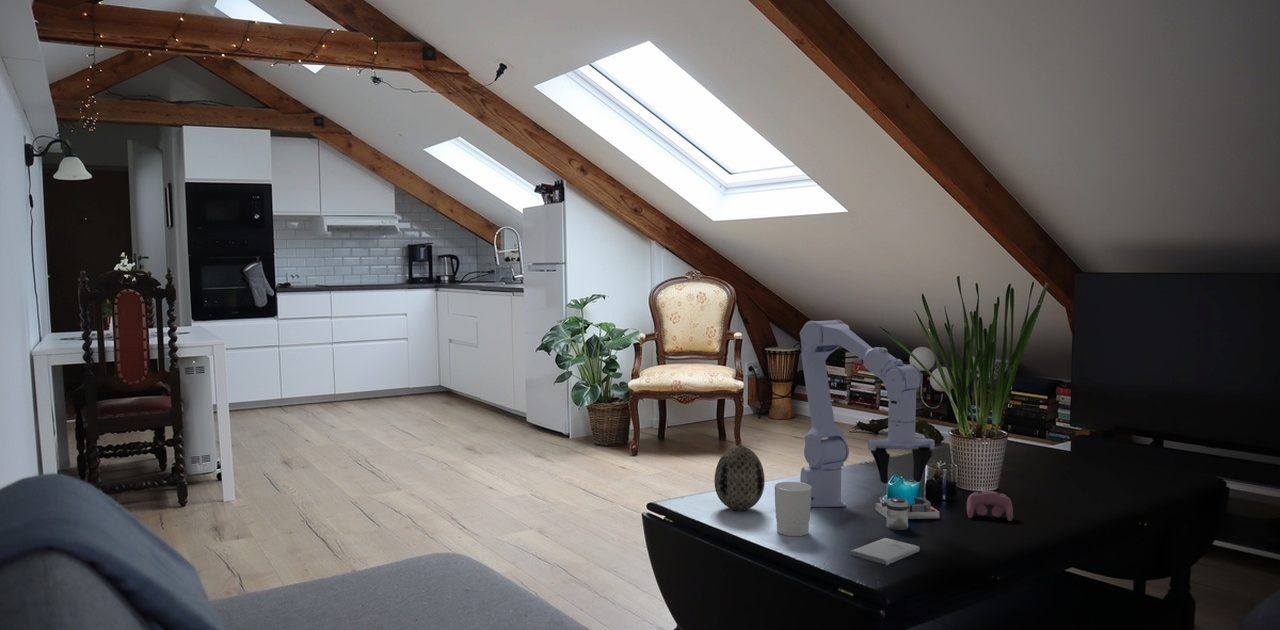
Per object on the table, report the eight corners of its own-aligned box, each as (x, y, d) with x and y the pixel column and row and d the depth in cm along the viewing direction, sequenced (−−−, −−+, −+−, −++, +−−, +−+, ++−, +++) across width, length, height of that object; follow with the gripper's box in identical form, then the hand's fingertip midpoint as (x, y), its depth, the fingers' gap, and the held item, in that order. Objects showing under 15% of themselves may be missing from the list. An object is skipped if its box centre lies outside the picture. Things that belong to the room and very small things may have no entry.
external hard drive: (850, 557, 177) (883, 544, 186) (886, 568, 171) (919, 553, 180) (850, 549, 177) (883, 536, 185) (886, 559, 171) (919, 545, 180)
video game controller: (1012, 525, 203) (1011, 494, 206) (1013, 521, 199) (1013, 490, 202) (966, 521, 206) (966, 491, 209) (966, 517, 202) (967, 486, 205)
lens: (890, 530, 194) (891, 502, 193) (883, 523, 198) (883, 497, 198) (911, 529, 194) (911, 502, 194) (903, 523, 199) (903, 496, 198)
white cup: (802, 539, 186) (803, 492, 186) (768, 533, 191) (768, 487, 190) (816, 530, 193) (817, 484, 193) (782, 524, 197) (783, 480, 197)
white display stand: (887, 519, 202) (888, 506, 201) (875, 509, 209) (875, 497, 209) (939, 518, 203) (939, 505, 202) (924, 508, 211) (925, 496, 210)
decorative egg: (703, 509, 209) (704, 446, 208) (734, 500, 217) (734, 439, 216) (744, 519, 201) (745, 454, 200) (774, 509, 209) (775, 446, 208)
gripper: (877, 424, 190) (876, 487, 191) (941, 423, 192) (940, 485, 193) (864, 418, 197) (863, 479, 198) (927, 417, 199) (925, 477, 200)
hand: (900, 481), depth 196 cm, fingers open, 7 cm apart
